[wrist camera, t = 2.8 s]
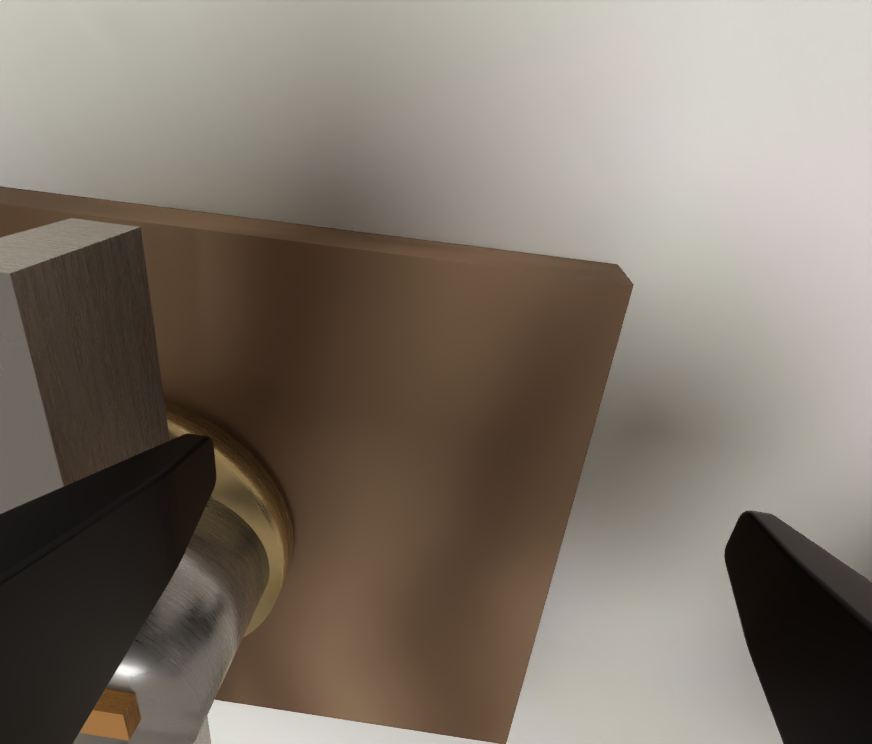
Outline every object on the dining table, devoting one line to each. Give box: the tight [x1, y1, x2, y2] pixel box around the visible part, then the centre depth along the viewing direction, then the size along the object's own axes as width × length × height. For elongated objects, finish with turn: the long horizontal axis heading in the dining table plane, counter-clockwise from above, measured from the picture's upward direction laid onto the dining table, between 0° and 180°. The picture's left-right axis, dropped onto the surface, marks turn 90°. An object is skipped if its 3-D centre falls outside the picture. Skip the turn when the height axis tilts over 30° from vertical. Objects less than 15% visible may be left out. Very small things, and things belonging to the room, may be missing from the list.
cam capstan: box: [0, 218, 294, 744], centre depth 12 cm, size 11×17×5 cm, turn 174°
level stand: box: [0, 187, 633, 744], centre depth 15 cm, size 16×16×3 cm
